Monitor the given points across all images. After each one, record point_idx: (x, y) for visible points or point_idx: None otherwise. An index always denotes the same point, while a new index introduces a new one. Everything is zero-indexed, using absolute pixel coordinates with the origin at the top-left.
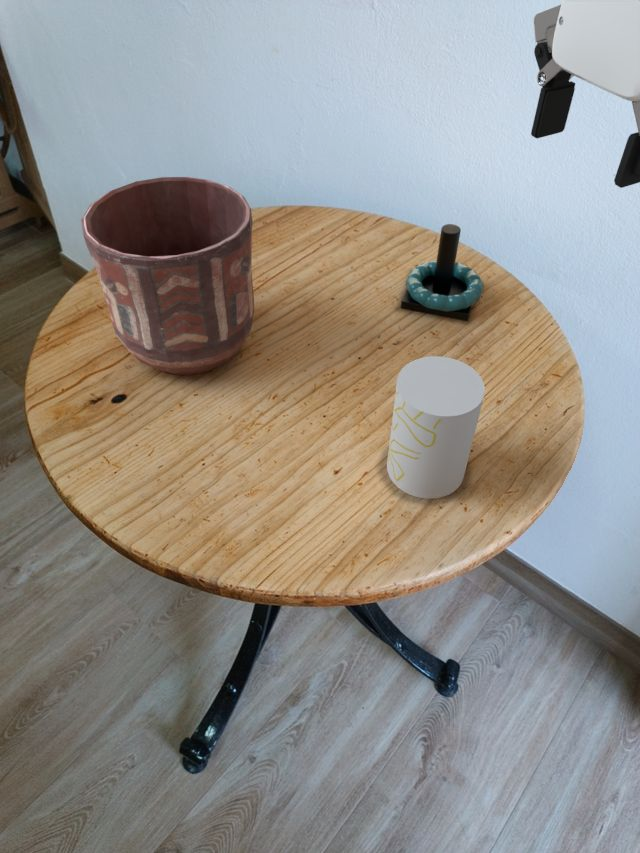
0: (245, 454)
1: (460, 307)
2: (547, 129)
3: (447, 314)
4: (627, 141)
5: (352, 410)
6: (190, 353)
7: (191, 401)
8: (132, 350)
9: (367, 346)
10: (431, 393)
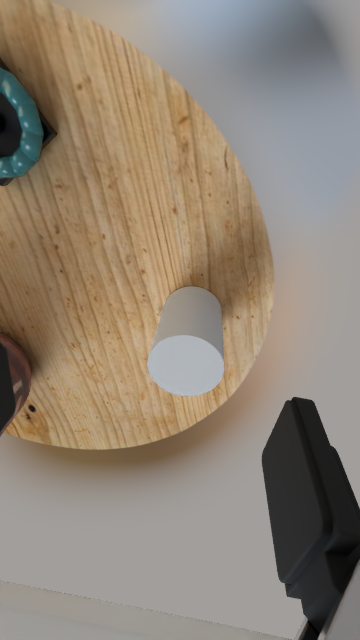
0: (112, 384)
1: (41, 142)
2: (3, 401)
3: None
4: (277, 563)
5: (113, 314)
6: (25, 399)
7: (52, 383)
8: None
9: (49, 255)
10: (188, 378)
